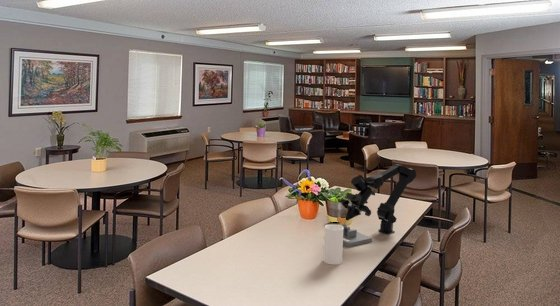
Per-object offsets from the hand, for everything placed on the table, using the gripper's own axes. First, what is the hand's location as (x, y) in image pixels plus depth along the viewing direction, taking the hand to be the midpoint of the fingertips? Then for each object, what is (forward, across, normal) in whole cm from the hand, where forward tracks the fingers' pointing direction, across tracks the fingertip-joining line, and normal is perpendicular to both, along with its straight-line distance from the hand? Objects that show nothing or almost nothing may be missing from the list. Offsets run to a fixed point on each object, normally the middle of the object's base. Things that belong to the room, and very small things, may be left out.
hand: (346, 220), depth 221 cm
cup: (+24, +19, -10) cm, 32 cm away
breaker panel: (+6, 0, +9) cm, 11 cm away
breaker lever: (+4, 0, +6) cm, 7 cm away
